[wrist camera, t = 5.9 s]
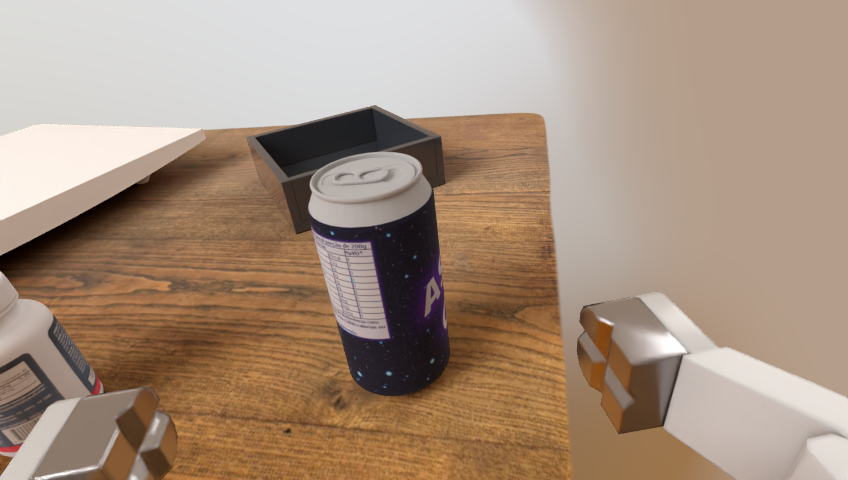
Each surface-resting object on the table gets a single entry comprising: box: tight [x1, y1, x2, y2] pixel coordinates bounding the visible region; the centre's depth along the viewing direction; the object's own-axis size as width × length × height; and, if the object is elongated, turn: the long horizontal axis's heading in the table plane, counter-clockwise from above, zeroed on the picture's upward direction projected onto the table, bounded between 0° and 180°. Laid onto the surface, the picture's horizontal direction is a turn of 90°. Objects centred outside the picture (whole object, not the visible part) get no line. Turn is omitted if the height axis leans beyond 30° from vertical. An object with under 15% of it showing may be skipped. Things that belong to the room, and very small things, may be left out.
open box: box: [246, 105, 445, 234], centre depth 48 cm, size 16×16×5 cm
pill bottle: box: [0, 271, 103, 457], centre depth 23 cm, size 5×5×9 cm
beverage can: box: [307, 152, 450, 396], centre depth 23 cm, size 6×6×12 cm
